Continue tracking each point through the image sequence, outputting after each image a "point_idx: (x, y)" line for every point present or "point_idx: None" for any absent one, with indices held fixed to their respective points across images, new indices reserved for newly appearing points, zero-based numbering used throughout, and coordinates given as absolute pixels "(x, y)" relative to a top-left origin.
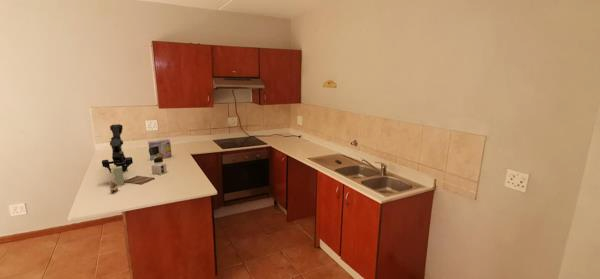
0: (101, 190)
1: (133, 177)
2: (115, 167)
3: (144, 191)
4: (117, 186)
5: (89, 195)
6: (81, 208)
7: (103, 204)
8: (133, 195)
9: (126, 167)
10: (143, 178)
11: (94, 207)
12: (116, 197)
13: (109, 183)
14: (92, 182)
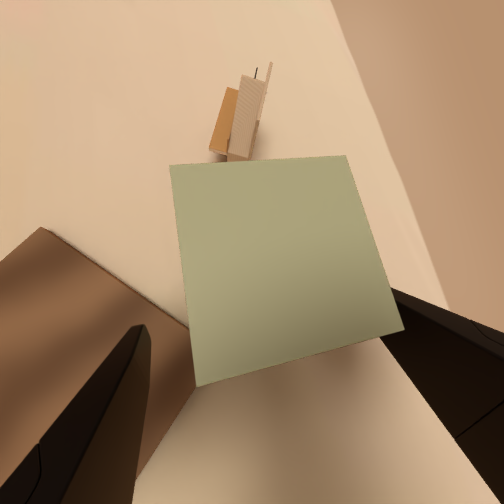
0: None
1: None
2: (335, 247)
3: (33, 78)
4: (219, 130)
5: (358, 149)
6: (323, 19)
7: (247, 14)
8: (109, 48)
9: (87, 394)
10: (2, 403)
11: (275, 4)
12: (205, 63)
13: (271, 63)
14: None
